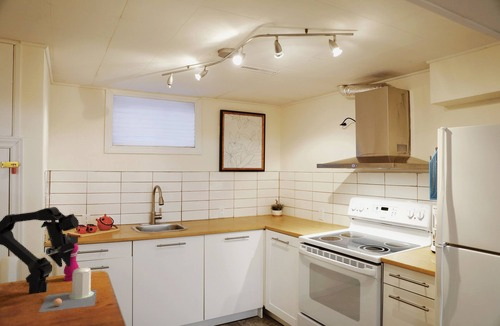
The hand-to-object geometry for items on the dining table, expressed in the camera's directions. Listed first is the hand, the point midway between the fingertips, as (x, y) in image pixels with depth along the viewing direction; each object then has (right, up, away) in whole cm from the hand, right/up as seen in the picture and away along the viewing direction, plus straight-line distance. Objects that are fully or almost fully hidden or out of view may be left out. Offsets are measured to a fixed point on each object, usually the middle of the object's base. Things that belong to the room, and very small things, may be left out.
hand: (65, 266), depth 157 cm
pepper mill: (-8, -13, +21) cm, 25 cm away
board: (+8, -12, -11) cm, 18 cm away
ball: (+6, -9, -17) cm, 21 cm away
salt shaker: (+10, -11, -5) cm, 16 cm away
